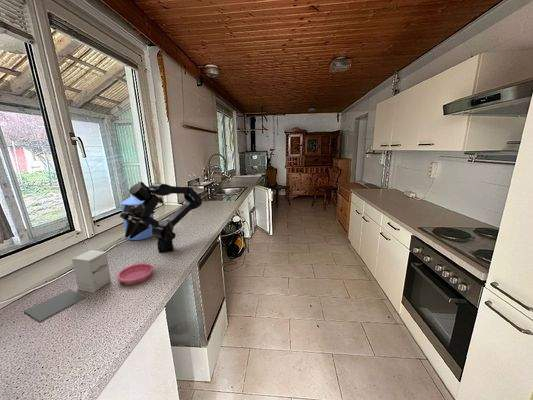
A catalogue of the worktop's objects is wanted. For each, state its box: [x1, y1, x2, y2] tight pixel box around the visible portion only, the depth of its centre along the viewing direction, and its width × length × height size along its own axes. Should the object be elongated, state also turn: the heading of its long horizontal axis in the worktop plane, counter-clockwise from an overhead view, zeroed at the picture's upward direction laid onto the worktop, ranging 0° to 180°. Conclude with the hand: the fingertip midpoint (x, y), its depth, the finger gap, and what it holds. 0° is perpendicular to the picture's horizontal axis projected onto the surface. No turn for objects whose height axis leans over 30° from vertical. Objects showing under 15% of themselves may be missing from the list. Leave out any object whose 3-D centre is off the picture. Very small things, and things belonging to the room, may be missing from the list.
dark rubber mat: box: [23, 289, 87, 323], centre depth 74 cm, size 12×10×1 cm
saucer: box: [116, 263, 154, 286], centre depth 89 cm, size 12×12×3 cm
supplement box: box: [71, 249, 112, 293], centre depth 83 cm, size 7×7×13 cm
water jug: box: [120, 195, 155, 241], centre depth 128 cm, size 16×16×28 cm
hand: (128, 237), depth 94 cm, fingers open, 3 cm apart
